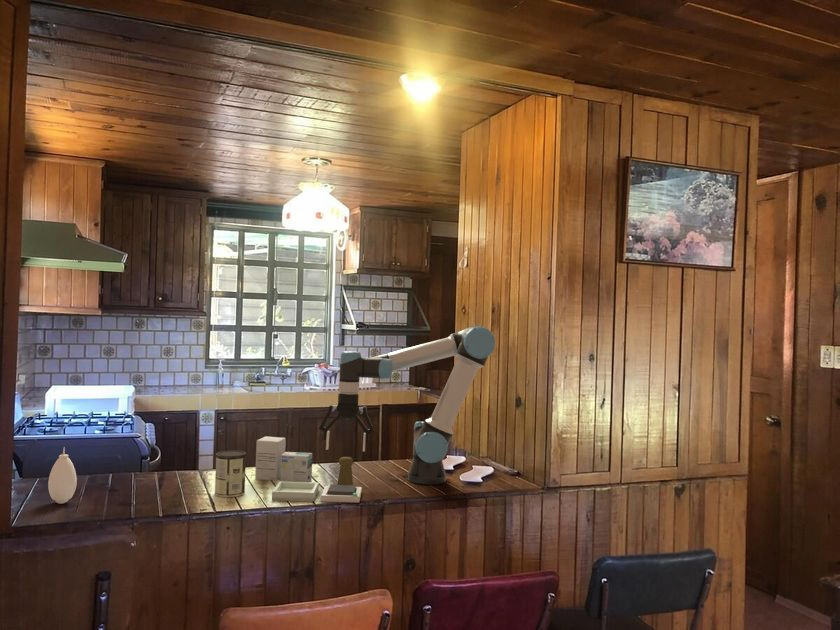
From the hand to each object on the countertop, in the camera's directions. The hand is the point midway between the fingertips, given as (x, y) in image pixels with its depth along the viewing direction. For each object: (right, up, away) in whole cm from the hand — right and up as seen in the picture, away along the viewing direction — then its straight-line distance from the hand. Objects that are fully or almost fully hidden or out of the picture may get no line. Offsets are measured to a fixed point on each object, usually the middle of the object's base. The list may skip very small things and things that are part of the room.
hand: (345, 450), depth 243 cm
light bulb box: (-19, -13, +4) cm, 24 cm away
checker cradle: (0, -14, -14) cm, 20 cm away
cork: (0, -14, 0) cm, 14 cm away
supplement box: (-30, -13, +10) cm, 34 cm away
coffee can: (-39, -12, -15) cm, 43 cm away
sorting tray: (-16, -13, -15) cm, 25 cm away
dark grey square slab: (0, -12, -14) cm, 19 cm away
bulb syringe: (-87, -10, -34) cm, 94 cm away
